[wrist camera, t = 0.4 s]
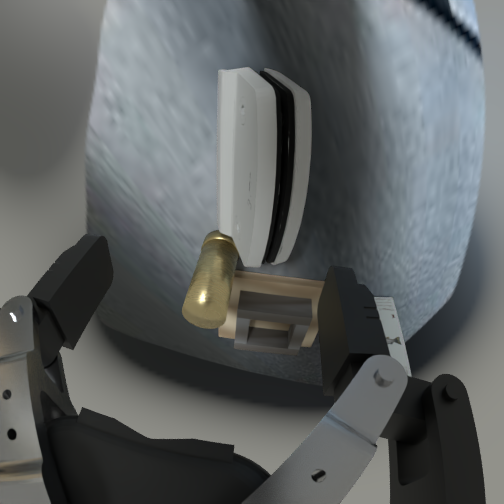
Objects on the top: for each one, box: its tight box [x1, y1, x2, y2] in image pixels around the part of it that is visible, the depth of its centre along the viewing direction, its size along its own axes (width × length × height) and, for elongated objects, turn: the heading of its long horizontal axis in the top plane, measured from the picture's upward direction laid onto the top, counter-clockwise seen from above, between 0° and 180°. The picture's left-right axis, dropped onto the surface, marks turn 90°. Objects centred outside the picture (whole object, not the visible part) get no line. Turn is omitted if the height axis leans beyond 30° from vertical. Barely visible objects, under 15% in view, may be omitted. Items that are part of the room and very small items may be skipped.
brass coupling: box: [182, 230, 239, 329], centre depth 29 cm, size 4×4×10 cm
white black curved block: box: [217, 67, 312, 267], centre depth 23 cm, size 17×5×10 cm, turn 177°
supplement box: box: [374, 297, 412, 377], centre depth 34 cm, size 7×7×13 cm
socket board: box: [219, 270, 325, 356], centre depth 38 cm, size 13×14×4 cm
